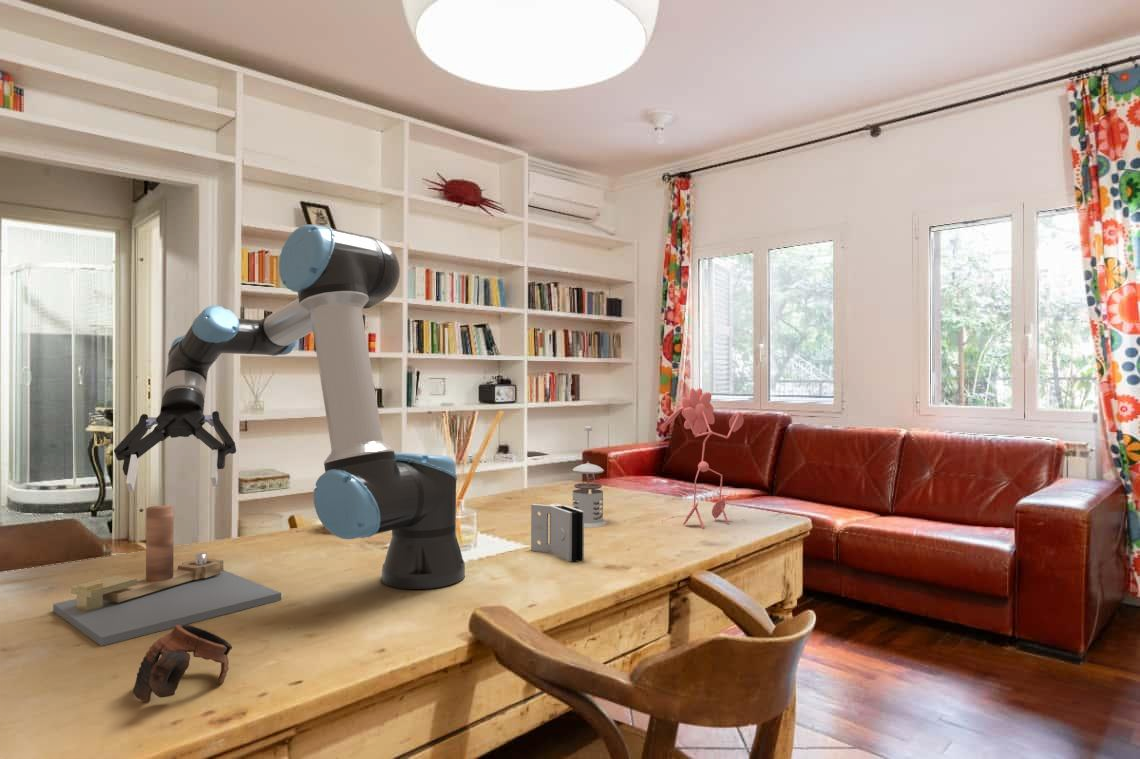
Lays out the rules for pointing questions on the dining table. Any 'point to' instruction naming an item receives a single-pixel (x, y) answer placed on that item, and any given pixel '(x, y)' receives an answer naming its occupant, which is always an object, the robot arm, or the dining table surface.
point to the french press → (589, 501)
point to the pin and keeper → (110, 587)
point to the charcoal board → (167, 607)
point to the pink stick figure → (697, 420)
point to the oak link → (163, 559)
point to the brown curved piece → (178, 660)
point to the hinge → (558, 531)
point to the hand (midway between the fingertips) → (172, 484)
